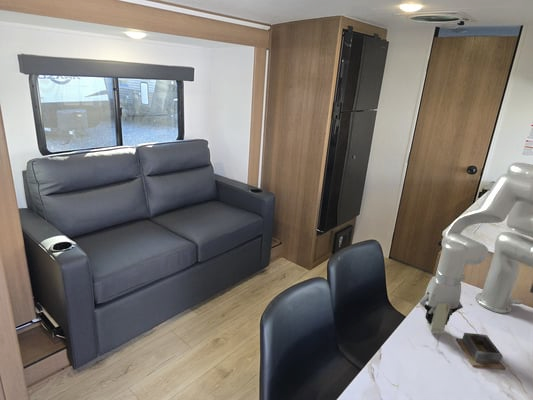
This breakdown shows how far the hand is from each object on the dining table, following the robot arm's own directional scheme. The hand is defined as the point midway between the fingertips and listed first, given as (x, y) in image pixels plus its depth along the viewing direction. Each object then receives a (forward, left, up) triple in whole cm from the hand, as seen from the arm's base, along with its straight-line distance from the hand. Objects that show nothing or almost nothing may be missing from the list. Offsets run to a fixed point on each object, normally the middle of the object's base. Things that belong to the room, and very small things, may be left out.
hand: (436, 321), depth 124 cm
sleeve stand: (-12, +9, -4) cm, 15 cm away
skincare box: (0, 0, -3) cm, 3 cm away
